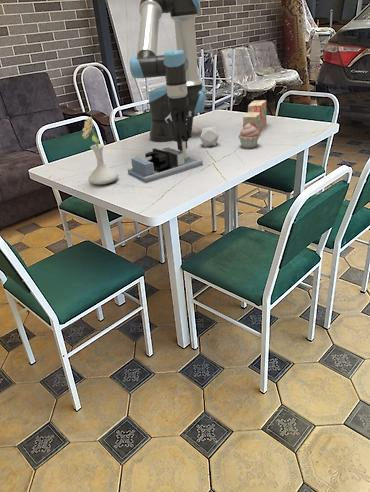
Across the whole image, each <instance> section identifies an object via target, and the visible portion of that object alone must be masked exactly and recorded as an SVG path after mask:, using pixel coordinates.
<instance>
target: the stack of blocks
mask: <svg viewBox="0 0 370 492" xmlns="http://www.w3.org/2000/svg"><path fill="white" fill-rule="evenodd" d="M247 105H248V106H247V113H246V114H245V115H244V116H243V117H242V123H243V124H242V129H243V128H244V126H245V125H247V124H248V123H250V125H252V126H254V127H255V128H256V129H257V130H258V134H260V133H261V132H262V131H263V130H264V129H265V127H266V126H267V100H266V99H262V100H261V99H260V100H257V99H256V100H253V101H251V102H250V103H249V104H247Z"/></svg>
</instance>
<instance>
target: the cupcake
mask: <svg viewBox="0 0 370 492" xmlns="http://www.w3.org/2000/svg"><path fill="white" fill-rule="evenodd" d="M260 136H261V134H260V133H259V134H258V130H257V129H256V128H255V127H254V126H252V125H250V123H248V124H247V125H245V126H244V128H243V127H242V129H241V130H240V131H239V135H238V139H239V142H240V145H241V147H242V149H253V148H256V147H257V146H258V141H259V138H260Z"/></svg>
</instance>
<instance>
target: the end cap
mask: <svg viewBox="0 0 370 492" xmlns="http://www.w3.org/2000/svg"><path fill="white" fill-rule="evenodd" d="M144 155H145V159H147V161H149V162H152V163H153V167H154V171H157V172H163V171H166V170H169V169H171V168H172V167H173V165H174V163H175V156H174V154H173V153H170V152H166V151H163V150H162V149H159V148H152V151H150V152H149V151H148V152H146V153H145V154H144ZM149 157H151V158H150V159H148V158H149Z"/></svg>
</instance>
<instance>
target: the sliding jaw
mask: <svg viewBox="0 0 370 492" xmlns="http://www.w3.org/2000/svg"><path fill="white" fill-rule="evenodd" d="M161 150H163V151H166V152H170V153H173V154H174V156H175V163H174V166H176V167H179V166H182V165H185V162H184V153H183V152H180V151H179V150H177V149H174V148H171V147H170V146H169V147H165V148H162V149H161Z"/></svg>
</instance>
